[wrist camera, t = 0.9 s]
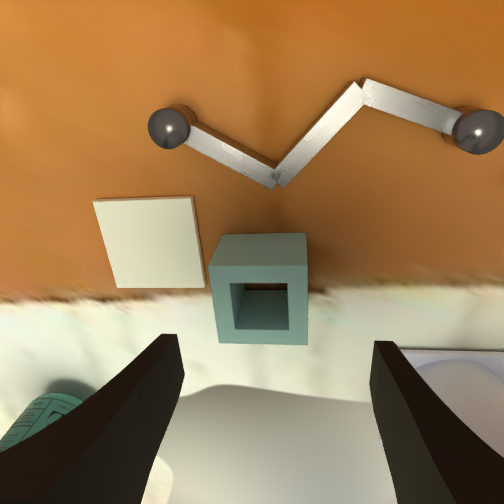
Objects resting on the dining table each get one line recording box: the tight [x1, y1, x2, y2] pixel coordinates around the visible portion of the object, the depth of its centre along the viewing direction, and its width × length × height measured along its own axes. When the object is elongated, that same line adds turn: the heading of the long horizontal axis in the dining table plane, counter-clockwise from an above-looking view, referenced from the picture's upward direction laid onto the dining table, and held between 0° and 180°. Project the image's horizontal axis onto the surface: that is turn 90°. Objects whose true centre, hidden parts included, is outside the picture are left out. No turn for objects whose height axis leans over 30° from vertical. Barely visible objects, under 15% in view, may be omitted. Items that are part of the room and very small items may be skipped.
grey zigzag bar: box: [148, 78, 504, 190], centre depth 17 cm, size 5×16×2 cm, turn 94°
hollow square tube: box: [208, 233, 308, 345], centre depth 20 cm, size 5×5×4 cm
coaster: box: [93, 196, 206, 288], centre depth 22 cm, size 6×6×1 cm
